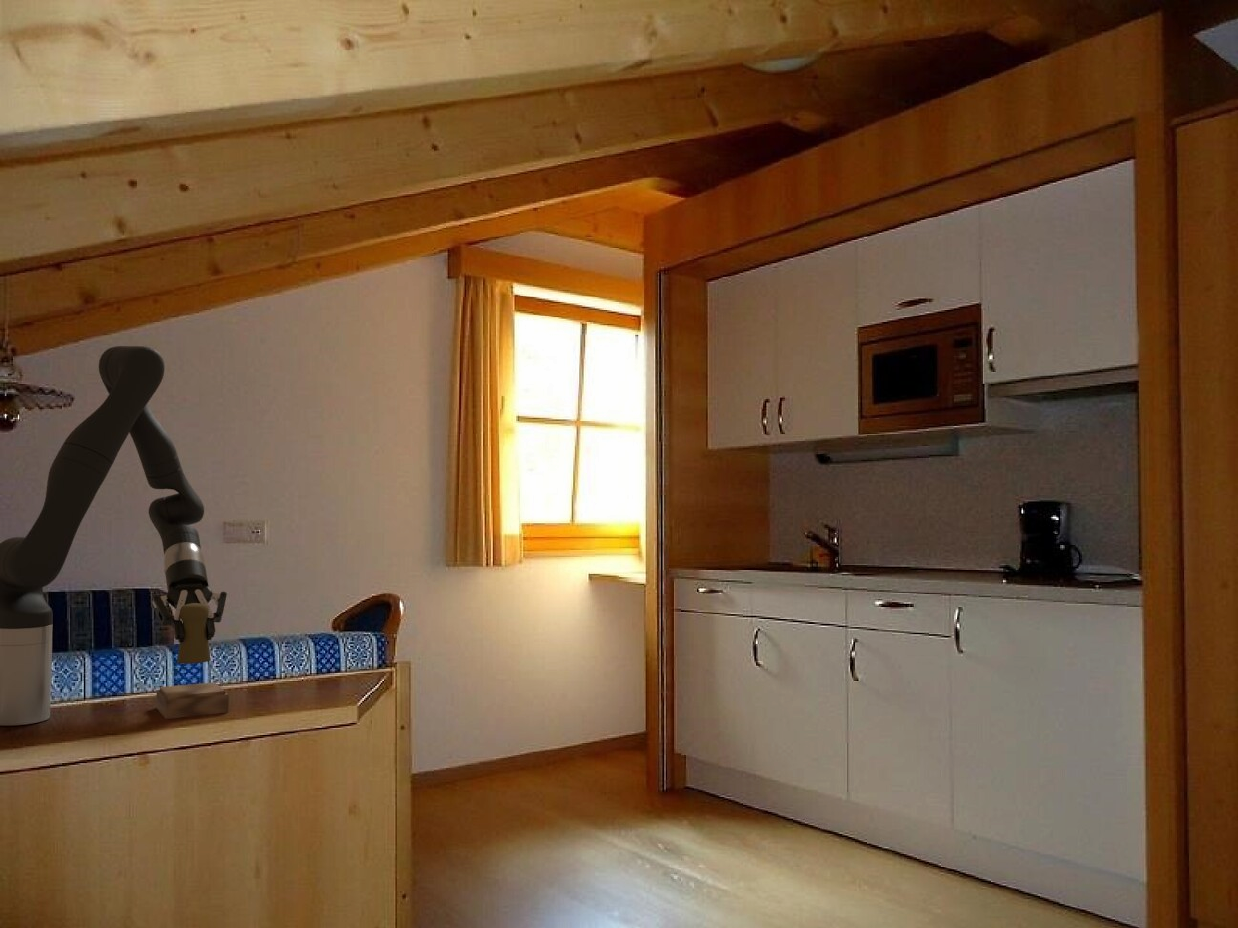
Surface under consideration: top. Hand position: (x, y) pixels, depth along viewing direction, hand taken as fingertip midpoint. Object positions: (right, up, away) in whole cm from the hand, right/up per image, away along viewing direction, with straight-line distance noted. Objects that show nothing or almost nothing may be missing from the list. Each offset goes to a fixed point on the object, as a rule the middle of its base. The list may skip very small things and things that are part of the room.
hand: (195, 638), depth 190 cm
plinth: (-1, -14, +1) cm, 14 cm away
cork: (-1, -5, +2) cm, 5 cm away
